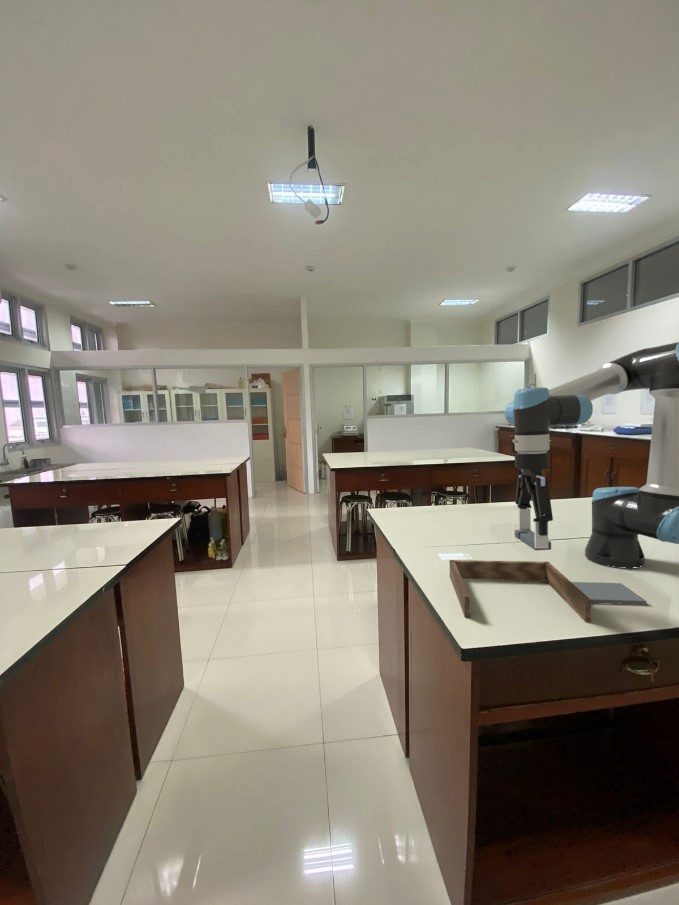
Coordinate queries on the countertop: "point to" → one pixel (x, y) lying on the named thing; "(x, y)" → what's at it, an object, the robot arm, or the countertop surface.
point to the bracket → (529, 539)
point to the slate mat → (609, 593)
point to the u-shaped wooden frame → (517, 572)
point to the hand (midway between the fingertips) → (532, 540)
